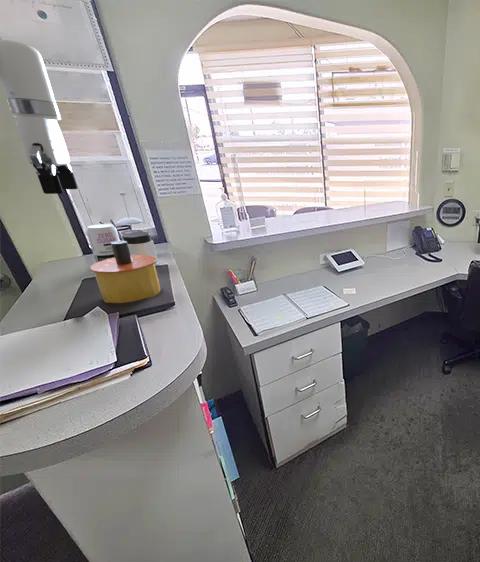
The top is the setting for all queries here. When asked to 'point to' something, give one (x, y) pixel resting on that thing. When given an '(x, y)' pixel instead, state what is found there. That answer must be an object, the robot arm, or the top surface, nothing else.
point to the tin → (128, 285)
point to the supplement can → (102, 240)
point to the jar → (140, 244)
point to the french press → (128, 221)
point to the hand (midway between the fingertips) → (62, 191)
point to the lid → (122, 260)
